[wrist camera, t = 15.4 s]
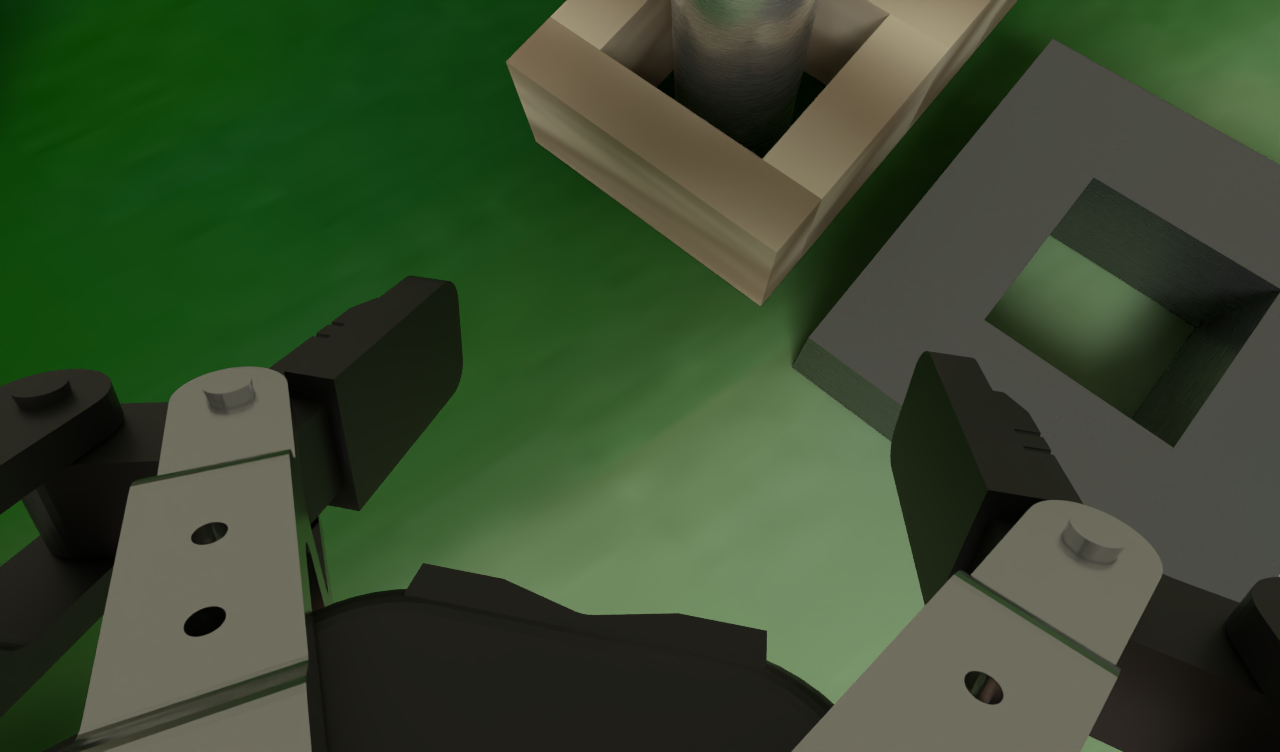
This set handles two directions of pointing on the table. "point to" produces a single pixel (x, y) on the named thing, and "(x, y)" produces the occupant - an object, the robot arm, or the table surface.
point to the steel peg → (742, 64)
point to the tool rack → (712, 161)
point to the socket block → (1132, 251)
